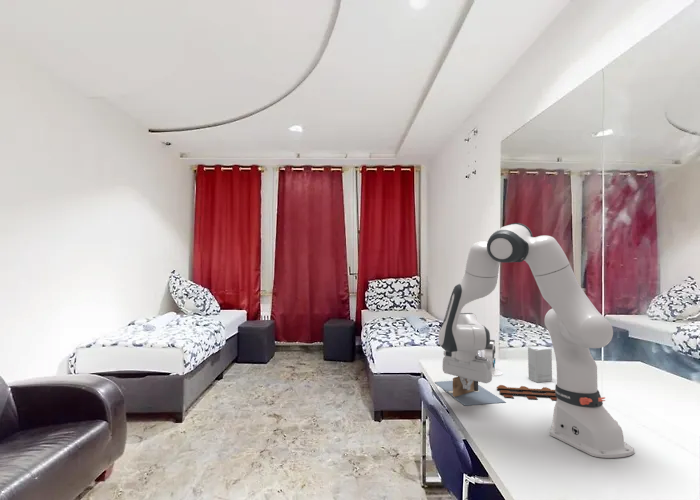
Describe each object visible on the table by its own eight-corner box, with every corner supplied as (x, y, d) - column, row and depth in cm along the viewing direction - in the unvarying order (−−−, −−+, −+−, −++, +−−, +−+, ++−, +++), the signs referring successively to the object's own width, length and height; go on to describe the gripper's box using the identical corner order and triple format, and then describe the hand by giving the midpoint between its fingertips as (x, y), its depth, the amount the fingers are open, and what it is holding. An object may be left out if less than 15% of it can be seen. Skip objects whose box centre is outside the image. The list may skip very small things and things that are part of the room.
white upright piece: (501, 377, 179) (501, 345, 180) (475, 374, 184) (475, 342, 184) (503, 371, 190) (502, 340, 190) (479, 368, 195) (478, 338, 195)
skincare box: (543, 377, 179) (543, 345, 179) (553, 381, 173) (552, 348, 174) (527, 379, 177) (527, 346, 178) (536, 383, 171) (536, 349, 172)
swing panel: (455, 396, 152) (455, 378, 153) (452, 395, 153) (452, 378, 153) (474, 390, 159) (474, 373, 160) (471, 389, 160) (471, 372, 161)
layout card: (505, 402, 148) (505, 401, 148) (464, 405, 145) (464, 404, 145) (470, 380, 175) (470, 379, 175) (434, 382, 172) (434, 381, 172)
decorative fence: (565, 403, 149) (551, 390, 164) (565, 398, 149) (551, 386, 164) (501, 399, 153) (494, 387, 168) (501, 395, 153) (494, 383, 168)
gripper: (494, 357, 148) (495, 394, 147) (449, 348, 163) (449, 381, 162) (486, 360, 143) (486, 397, 143) (440, 350, 159) (440, 385, 158)
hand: (466, 389), depth 153 cm, fingers closed
